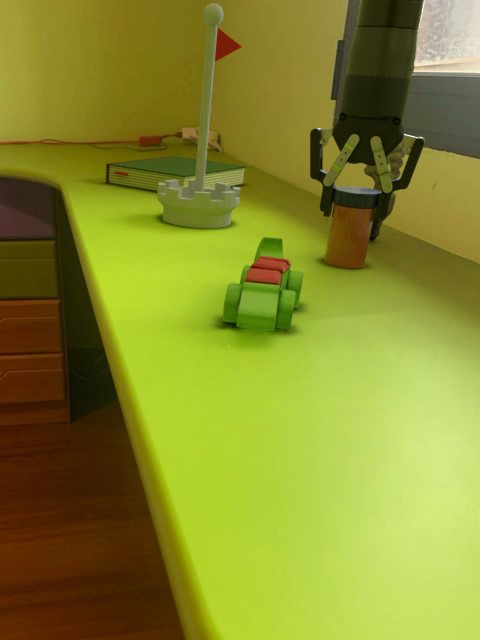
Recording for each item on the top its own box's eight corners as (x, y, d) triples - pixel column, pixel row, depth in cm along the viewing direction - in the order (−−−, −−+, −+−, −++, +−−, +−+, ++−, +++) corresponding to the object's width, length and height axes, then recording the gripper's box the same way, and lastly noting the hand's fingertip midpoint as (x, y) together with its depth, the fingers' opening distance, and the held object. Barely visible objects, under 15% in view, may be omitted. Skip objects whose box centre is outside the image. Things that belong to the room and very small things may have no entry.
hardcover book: (172, 173, 158) (173, 155, 156) (244, 184, 148) (246, 166, 147) (103, 183, 139) (103, 163, 137) (181, 197, 130) (182, 176, 128)
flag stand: (177, 230, 103) (193, -4, 89) (143, 213, 114) (153, 0, 100) (252, 228, 108) (278, 5, 94) (213, 211, 119) (231, 9, 105)
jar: (358, 259, 94) (371, 191, 90) (368, 269, 89) (383, 198, 85) (320, 257, 94) (331, 189, 90) (329, 267, 89) (341, 195, 85)
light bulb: (391, 246, 103) (414, 137, 96) (355, 244, 102) (375, 135, 95) (381, 237, 107) (402, 133, 100) (346, 235, 107) (365, 131, 100)
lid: (328, 204, 87) (330, 190, 86) (335, 197, 92) (337, 184, 91) (375, 210, 85) (378, 195, 84) (380, 203, 90) (383, 189, 89)
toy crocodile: (283, 352, 61) (293, 285, 58) (210, 341, 63) (216, 275, 60) (303, 293, 78) (312, 238, 75) (245, 285, 80) (252, 231, 77)
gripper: (312, 68, 80) (291, 216, 88) (442, 77, 76) (407, 231, 84) (323, 69, 87) (302, 208, 94) (443, 77, 82) (411, 221, 90)
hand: (352, 218), depth 89 cm, fingers closed on lid, 5 cm apart
